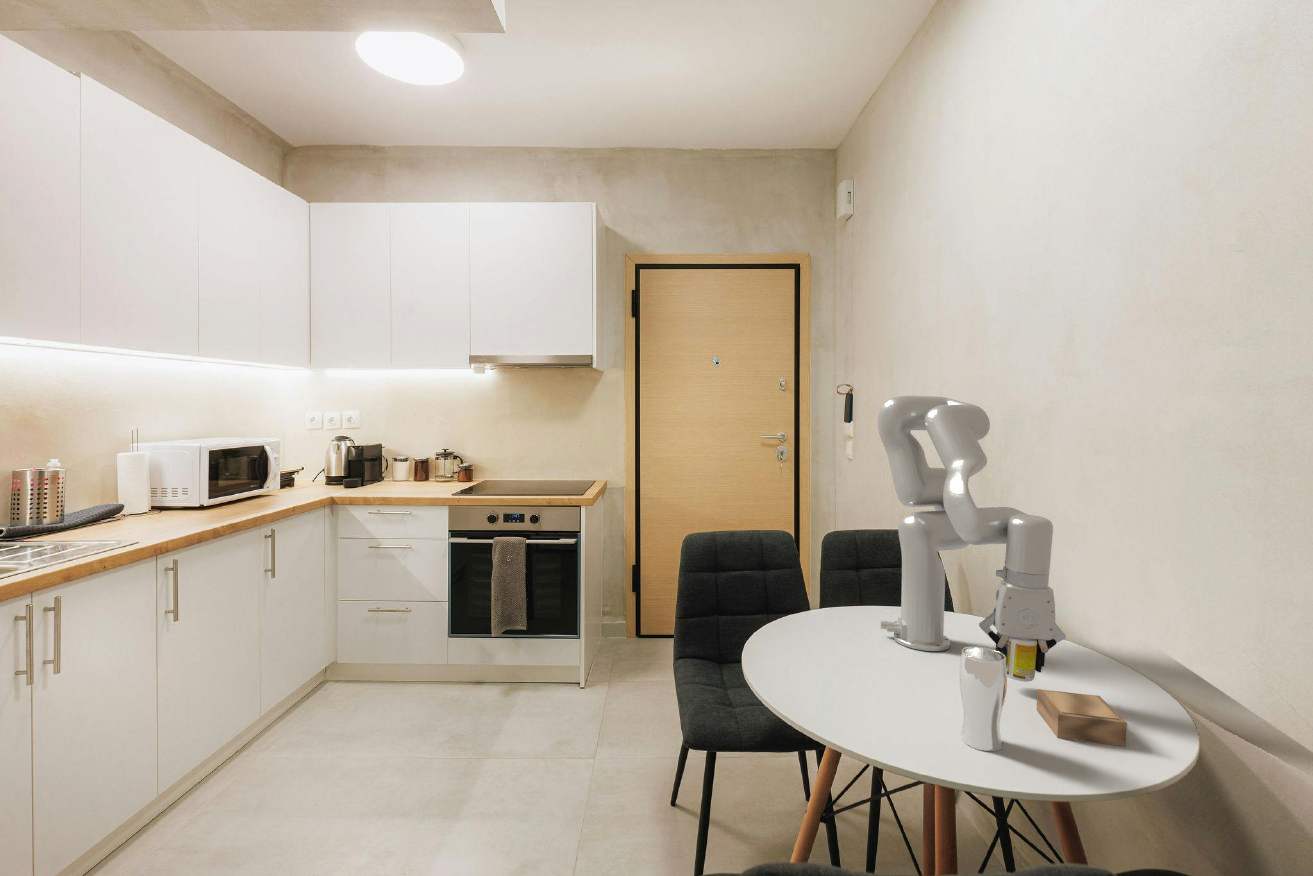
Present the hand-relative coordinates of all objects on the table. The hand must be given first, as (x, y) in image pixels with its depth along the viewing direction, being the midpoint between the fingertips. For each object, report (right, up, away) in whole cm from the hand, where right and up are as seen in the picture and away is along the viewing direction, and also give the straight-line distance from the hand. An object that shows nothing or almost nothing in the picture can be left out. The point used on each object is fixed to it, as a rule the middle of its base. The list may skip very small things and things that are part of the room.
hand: (1018, 666), depth 120 cm
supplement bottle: (0, -2, 0) cm, 2 cm away
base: (+2, -6, -14) cm, 15 cm away
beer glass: (-18, -6, -19) cm, 27 cm away
